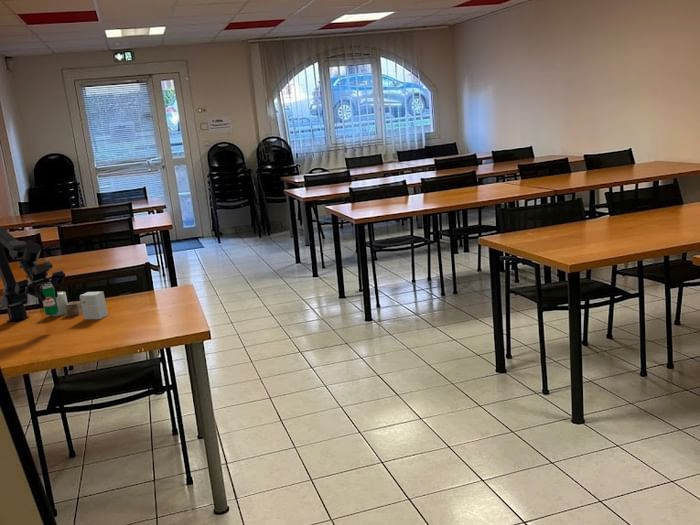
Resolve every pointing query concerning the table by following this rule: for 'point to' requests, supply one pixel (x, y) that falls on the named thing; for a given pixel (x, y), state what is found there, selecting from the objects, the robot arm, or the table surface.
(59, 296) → the sage mug
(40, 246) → the robot arm
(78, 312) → the walnut block
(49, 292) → the soda can
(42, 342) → the table surface
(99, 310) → the small box
